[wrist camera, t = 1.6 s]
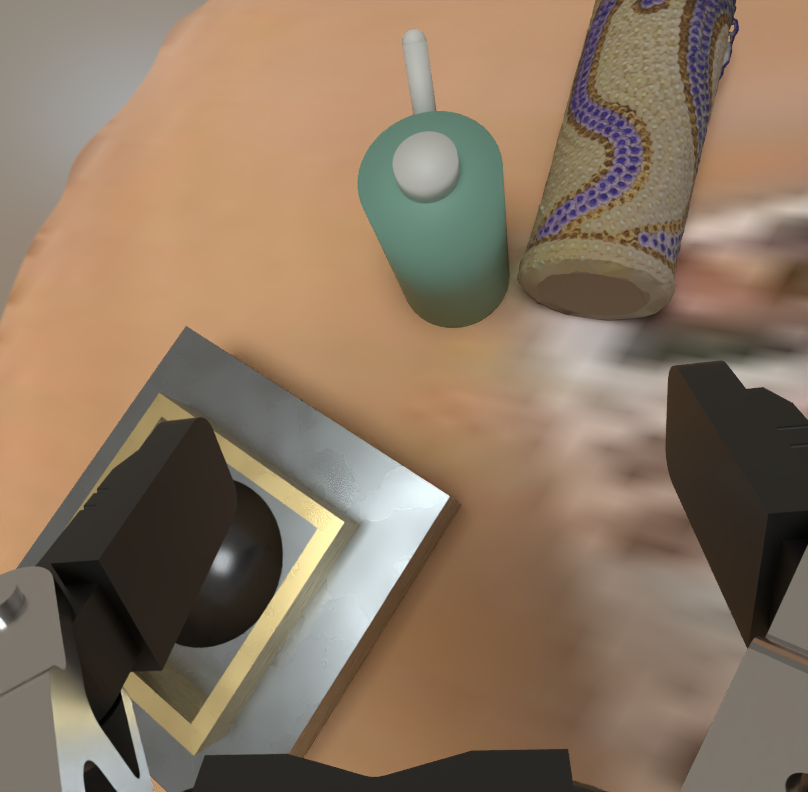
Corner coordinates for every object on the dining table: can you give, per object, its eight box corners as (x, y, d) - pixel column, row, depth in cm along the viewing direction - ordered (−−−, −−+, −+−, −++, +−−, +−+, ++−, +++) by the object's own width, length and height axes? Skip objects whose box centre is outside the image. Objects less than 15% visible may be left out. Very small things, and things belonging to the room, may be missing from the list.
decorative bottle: (657, 338, 32) (689, 286, 26) (515, 308, 34) (511, 252, 28) (755, -66, 37) (803, -195, 30) (624, -73, 38) (642, -196, 32)
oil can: (514, 320, 34) (509, 204, 22) (406, 333, 35) (348, 230, 23) (498, 177, 36) (485, 7, 25) (397, 194, 37) (340, 38, 26)
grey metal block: (230, 355, 36) (158, 307, 29) (461, 504, 32) (442, 491, 25) (14, 669, 34) (-121, 701, 27) (228, 877, 30) (133, 981, 23)
